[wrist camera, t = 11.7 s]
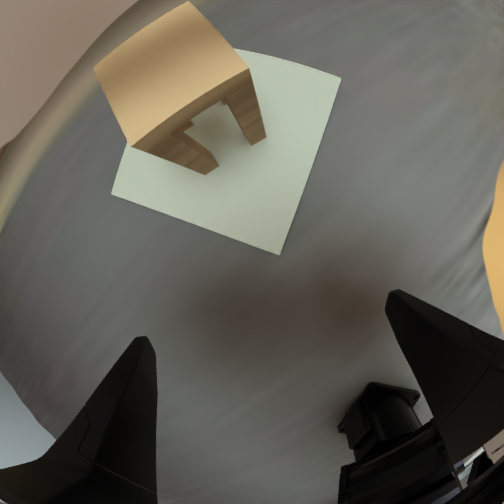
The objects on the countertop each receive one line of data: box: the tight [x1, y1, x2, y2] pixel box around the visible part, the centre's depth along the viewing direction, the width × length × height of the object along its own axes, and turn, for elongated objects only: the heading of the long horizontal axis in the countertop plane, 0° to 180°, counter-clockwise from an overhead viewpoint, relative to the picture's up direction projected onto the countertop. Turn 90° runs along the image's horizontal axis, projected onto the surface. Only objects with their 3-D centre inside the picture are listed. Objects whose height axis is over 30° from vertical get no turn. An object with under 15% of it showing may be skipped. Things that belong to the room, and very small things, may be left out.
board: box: [111, 49, 341, 255], centre depth 18 cm, size 14×14×1 cm
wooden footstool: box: [94, 1, 267, 175], centre depth 13 cm, size 5×5×10 cm
